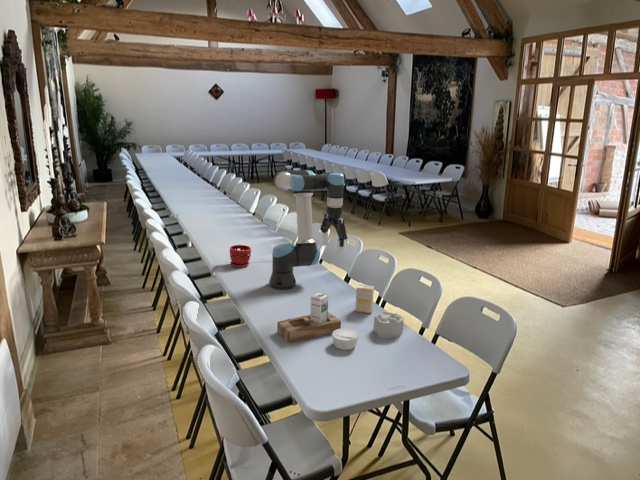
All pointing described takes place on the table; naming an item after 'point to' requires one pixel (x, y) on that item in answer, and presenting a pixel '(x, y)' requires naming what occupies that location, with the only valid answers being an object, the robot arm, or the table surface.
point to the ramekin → (345, 338)
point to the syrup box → (319, 308)
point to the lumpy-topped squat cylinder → (388, 324)
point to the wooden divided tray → (306, 328)
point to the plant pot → (240, 255)
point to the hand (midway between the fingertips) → (332, 249)
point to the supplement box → (364, 298)
